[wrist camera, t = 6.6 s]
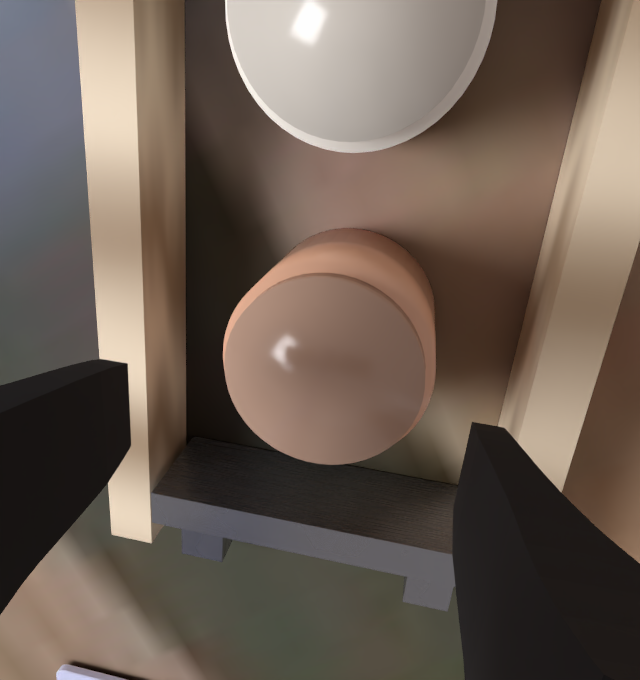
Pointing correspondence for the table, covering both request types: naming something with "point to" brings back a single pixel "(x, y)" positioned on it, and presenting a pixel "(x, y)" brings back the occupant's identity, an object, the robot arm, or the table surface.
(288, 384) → the terracotta jar
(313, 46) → the cream jar
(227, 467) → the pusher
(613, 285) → the beige flat open box
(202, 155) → the table surface
